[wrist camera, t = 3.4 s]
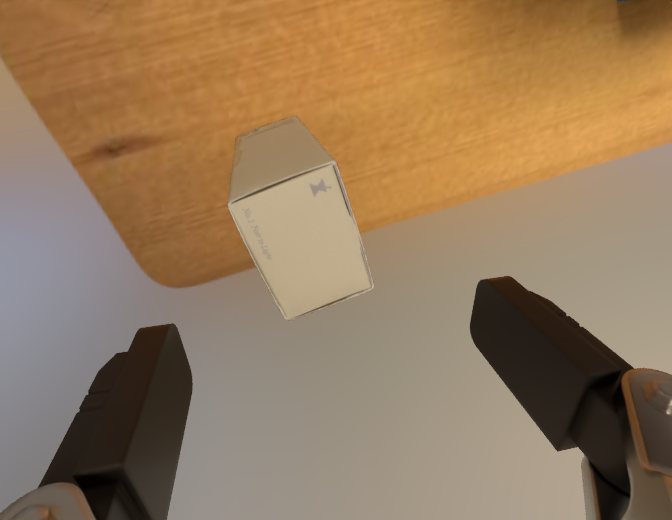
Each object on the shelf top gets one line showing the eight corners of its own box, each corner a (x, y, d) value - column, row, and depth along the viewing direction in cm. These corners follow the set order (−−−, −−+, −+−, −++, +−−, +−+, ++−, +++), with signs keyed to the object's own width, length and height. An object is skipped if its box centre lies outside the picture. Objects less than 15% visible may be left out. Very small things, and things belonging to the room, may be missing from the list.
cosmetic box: (234, 136, 23) (216, 196, 12) (299, 112, 23) (336, 153, 13) (271, 221, 26) (282, 326, 16) (328, 200, 26) (377, 291, 16)
